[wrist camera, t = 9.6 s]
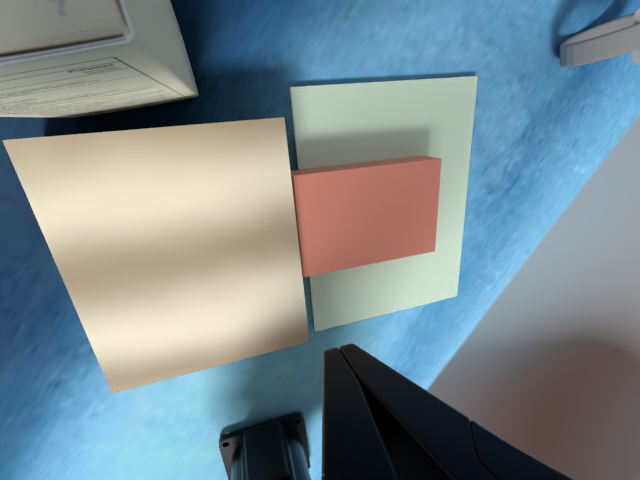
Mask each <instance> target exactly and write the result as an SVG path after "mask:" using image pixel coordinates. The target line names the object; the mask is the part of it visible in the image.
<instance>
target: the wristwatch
mask: <svg viewBox="0 0 640 480" xmlns="http://www.w3.org/2000/svg"><path fill="white" fill-rule="evenodd" d="M629 52H632V62H633V63H634V64H640V8H639V9H638V10H637V11H636V12H635V13H632V14H629V15H626V16H623V17H620V18H618V19H615V20H612V21H609V22H606V23H604V24H601V25H598V26H596V27H593V28H591V29H588V30H586V31H583V32H581V33H579V34H577V35H575V36H573V37H571V38H569V39H567V40H566V41H564V42H563V43H562V44H561V45H560V65H561V66H562V67H572V66H578V65H584V64H588V63H593V62H597V61H601V60H605V59H608V58H612V57H616V56H619V55H622V54H626V53H629Z"/></svg>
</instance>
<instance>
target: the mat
mask: <svg viewBox="0 0 640 480" xmlns="http://www.w3.org/2000/svg"><path fill="white" fill-rule="evenodd" d="M477 80H478V76H468V77H452V78H435V79H418V80H401V81H384V82H367V83H350V84H333V85H317V86H300V87H290V88H289V89H290V99H291V108H292V118H293V127H294V137H295V146H296V156H297V166H298V170H299V169H308V168H317V167H326V166H335V165H343V164H352V163H361V162H370V161H379V160H388V159H397V158H406V157H414V156H428V157H435V158H442V160H441V174H440V188H439V202H438V216H437V230H436V245H435V251H434V252H429V253H424V254H419V255H414V256H409V257H404V258H399V259H394V260H389V261H384V262H379V263H374V264H369V265H364V266H359V267H354V268H349V269H344V270H339V271H334V272H329V273H323V274H318V275H313V276H309V281H310V290H311V300H312V309H313V319H314V329H315V331H316V332H317V331H321V330H325V329H329V328H333V327H337V326H341V325H345V324H349V323H353V322H357V321H361V320H365V319H369V318H373V317H377V316H380V315H384V314H388V313H392V312H396V311H400V310H404V309H408V308H412V307H416V306H420V305H424V304H428V303H432V302H436V301H440V300H444V299H447V298H451V297H455V296H457V291H458V281H459V270H460V260H461V249H462V239H463V228H464V217H465V207H466V196H467V186H468V175H469V165H470V154H471V144H472V133H473V122H474V112H475V101H476V91H477Z"/></svg>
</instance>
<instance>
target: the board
mask: <svg viewBox="0 0 640 480" xmlns="http://www.w3.org/2000/svg"><path fill="white" fill-rule="evenodd" d="M3 142H4V145H5V147H6V149H7V152H8V154H9V156H10V159H11V161H12V163H13V166H14V168H15V170H16V172H17V175H18V177H19V179H20V182H21V184H22V186H23V189H24V191H25V193H26V196H27V198H28V200H29V202H30V205H31V207H32V209H33V212H34V214H35V216H36V219H37V221H38V223H39V226H40V228H41V230H42V232H43V235H44V237H45V239H46V242H47V244H48V246H49V249H50V251H51V253H52V256H53V258H54V260H55V262H56V265H57V267H58V269H59V272H60V274H61V276H62V279H63V281H64V283H65V286H66V288H67V290H68V292H69V295H70V297H71V299H72V302H73V304H74V306H75V309H76V311H77V313H78V316H79V318H80V320H81V323H82V325H83V327H84V329H85V332H86V334H87V336H88V339H89V341H90V343H91V346H92V348H93V350H94V353H95V355H96V357H97V359H98V362H99V364H100V366H101V369H102V371H103V373H104V376H105V378H106V380H107V383H108V385H109V387H110V389H111V392H112V393H116V392H120V391H124V390H128V389H131V388H135V387H139V386H143V385H147V384H151V383H154V382H158V381H162V380H166V379H170V378H174V377H177V376H181V375H185V374H189V373H193V372H197V371H201V370H204V369H208V368H212V367H216V366H220V365H224V364H227V363H231V362H235V361H239V360H243V359H247V358H250V357H254V356H258V355H262V354H266V353H270V352H273V351H277V350H281V349H285V348H289V347H293V346H297V345H300V344H304V343H308V342H310V339H309V330H308V321H307V312H306V304H305V295H304V286H303V277H302V268H301V259H300V251H299V242H298V233H297V224H296V215H295V206H294V198H293V189H292V180H291V171H290V162H289V153H288V145H287V136H286V127H285V118H284V117H280V118H268V119H256V120H244V121H232V122H219V123H207V124H195V125H183V126H171V127H159V128H146V129H134V130H122V131H110V132H98V133H86V134H73V135H61V136H49V137H37V138H25V139H13V140H3Z"/></svg>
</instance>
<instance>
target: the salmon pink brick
mask: <svg viewBox="0 0 640 480" xmlns="http://www.w3.org/2000/svg"><path fill="white" fill-rule="evenodd" d="M441 160H442V158H435V157H428V156H414V157H406V158H397V159H388V160H379V161H370V162H361V163H352V164H343V165H335V166H326V167H317V168H308V169H299V170H290V171H291V180H292V189H293V198H294V206H295V215H296V224H297V233H298V242H299V251H300V259H301V268H302V276H303V277H308V276H313V275H318V274H323V273H329V272H334V271H339V270H344V269H349V268H354V267H359V266H364V265H369V264H374V263H379V262H384V261H389V260H394V259H399V258H404V257H409V256H414V255H419V254H424V253H429V252H434V251H435V245H436V230H437V216H438V202H439V188H440V174H441Z"/></svg>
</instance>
